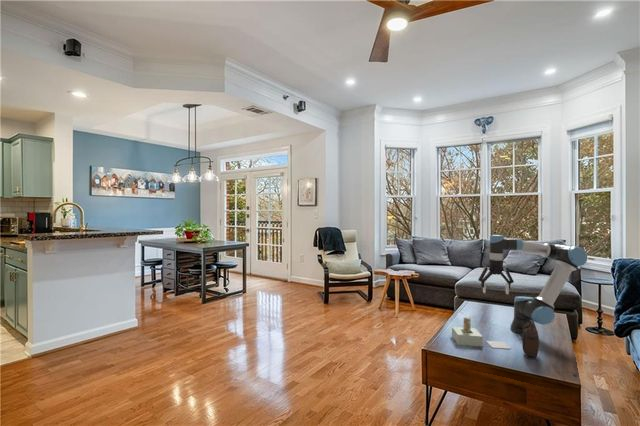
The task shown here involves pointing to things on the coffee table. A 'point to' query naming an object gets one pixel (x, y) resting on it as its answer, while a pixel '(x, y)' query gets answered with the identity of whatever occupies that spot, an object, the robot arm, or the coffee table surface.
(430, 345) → the coffee table surface
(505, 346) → the coaster
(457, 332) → the socket block
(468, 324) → the peg
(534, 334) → the alarm clock
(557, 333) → the coffee table surface
